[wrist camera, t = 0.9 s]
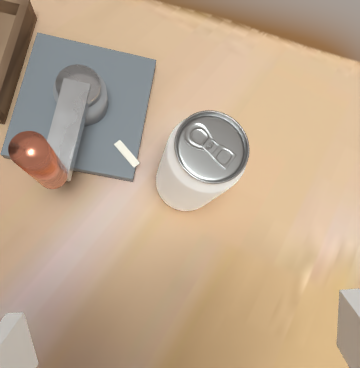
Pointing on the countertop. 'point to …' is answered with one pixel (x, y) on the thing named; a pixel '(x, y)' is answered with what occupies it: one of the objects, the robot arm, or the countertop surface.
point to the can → (201, 160)
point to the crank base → (119, 92)
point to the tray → (13, 47)
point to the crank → (59, 130)
